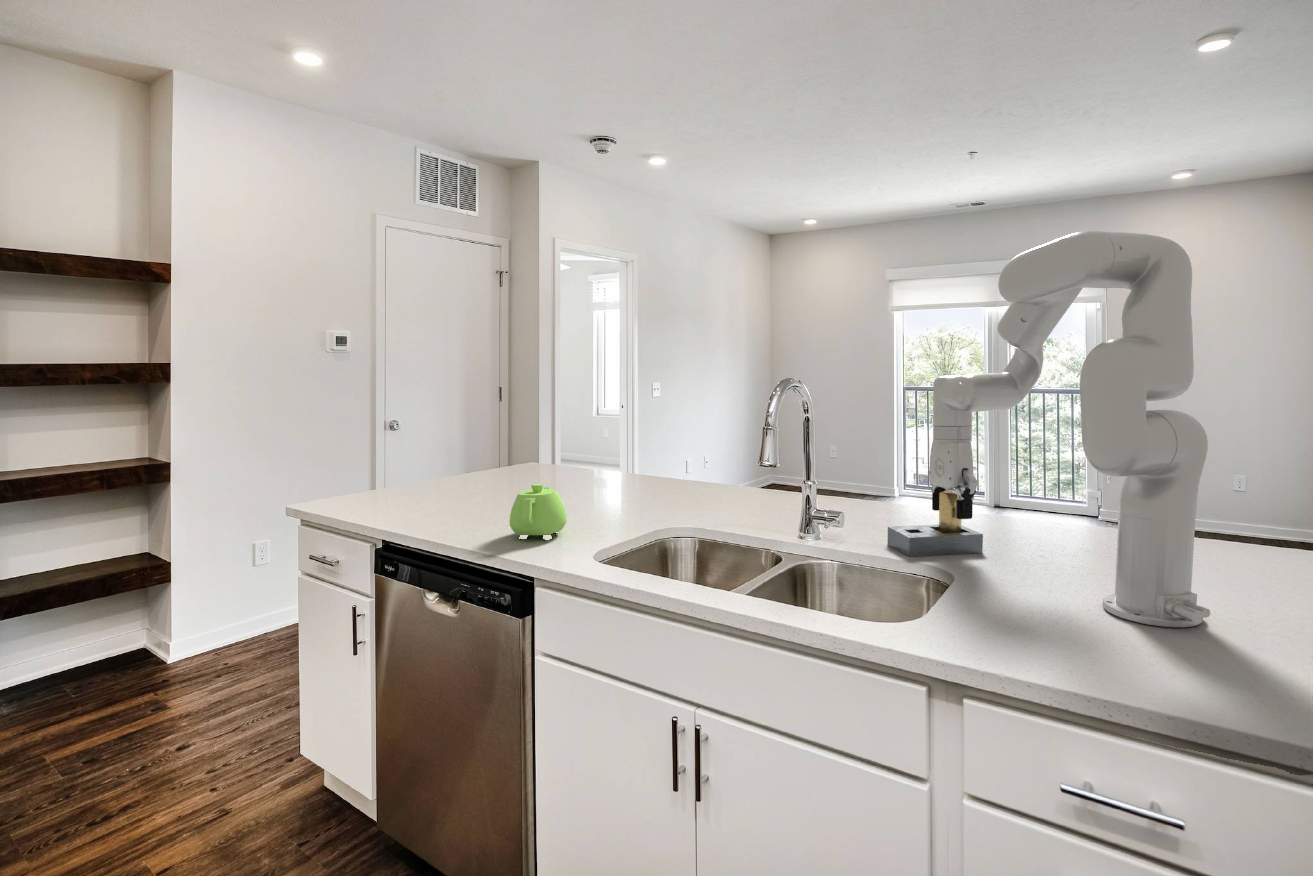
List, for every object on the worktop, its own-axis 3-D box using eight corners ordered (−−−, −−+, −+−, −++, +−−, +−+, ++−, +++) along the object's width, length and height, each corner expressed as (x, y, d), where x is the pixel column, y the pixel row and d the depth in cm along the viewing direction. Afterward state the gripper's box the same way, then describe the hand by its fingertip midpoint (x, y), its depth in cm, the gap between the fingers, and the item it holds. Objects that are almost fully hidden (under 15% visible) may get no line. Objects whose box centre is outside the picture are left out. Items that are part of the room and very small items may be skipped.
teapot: (525, 526, 176) (523, 477, 175) (576, 526, 174) (574, 477, 173) (498, 546, 156) (496, 491, 155) (555, 546, 155) (553, 491, 153)
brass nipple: (945, 551, 144) (946, 495, 143) (934, 546, 149) (935, 491, 147) (964, 550, 145) (966, 494, 143) (953, 545, 149) (954, 490, 148)
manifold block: (982, 553, 142) (982, 534, 142) (909, 556, 140) (909, 537, 140) (956, 541, 152) (956, 523, 152) (887, 544, 150) (887, 526, 150)
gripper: (915, 432, 152) (915, 507, 154) (957, 437, 135) (956, 523, 137) (947, 430, 153) (946, 506, 154) (993, 436, 136) (992, 521, 137)
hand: (951, 514), depth 145 cm, fingers open, 9 cm apart
